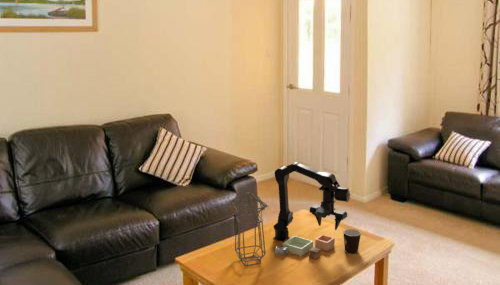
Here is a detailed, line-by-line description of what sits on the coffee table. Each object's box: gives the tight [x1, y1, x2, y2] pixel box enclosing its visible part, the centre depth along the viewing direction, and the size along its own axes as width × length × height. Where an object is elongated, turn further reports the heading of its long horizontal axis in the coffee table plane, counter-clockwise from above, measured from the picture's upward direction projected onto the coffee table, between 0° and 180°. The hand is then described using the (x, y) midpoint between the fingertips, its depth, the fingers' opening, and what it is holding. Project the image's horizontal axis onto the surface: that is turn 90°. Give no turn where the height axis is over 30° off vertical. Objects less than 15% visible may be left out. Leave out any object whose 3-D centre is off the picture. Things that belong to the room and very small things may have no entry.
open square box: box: [314, 234, 336, 253], centre depth 259 cm, size 7×7×5 cm
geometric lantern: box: [229, 191, 269, 267], centre depth 242 cm, size 16×16×35 cm
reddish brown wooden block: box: [274, 244, 289, 257], centre depth 253 cm, size 5×4×4 cm
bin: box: [282, 235, 314, 257], centre depth 257 cm, size 11×11×4 cm
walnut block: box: [308, 246, 321, 260], centre depth 249 cm, size 4×4×4 cm
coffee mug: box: [343, 228, 362, 255], centre depth 256 cm, size 12×9×10 cm
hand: (327, 227), depth 257 cm, fingers open, 9 cm apart
